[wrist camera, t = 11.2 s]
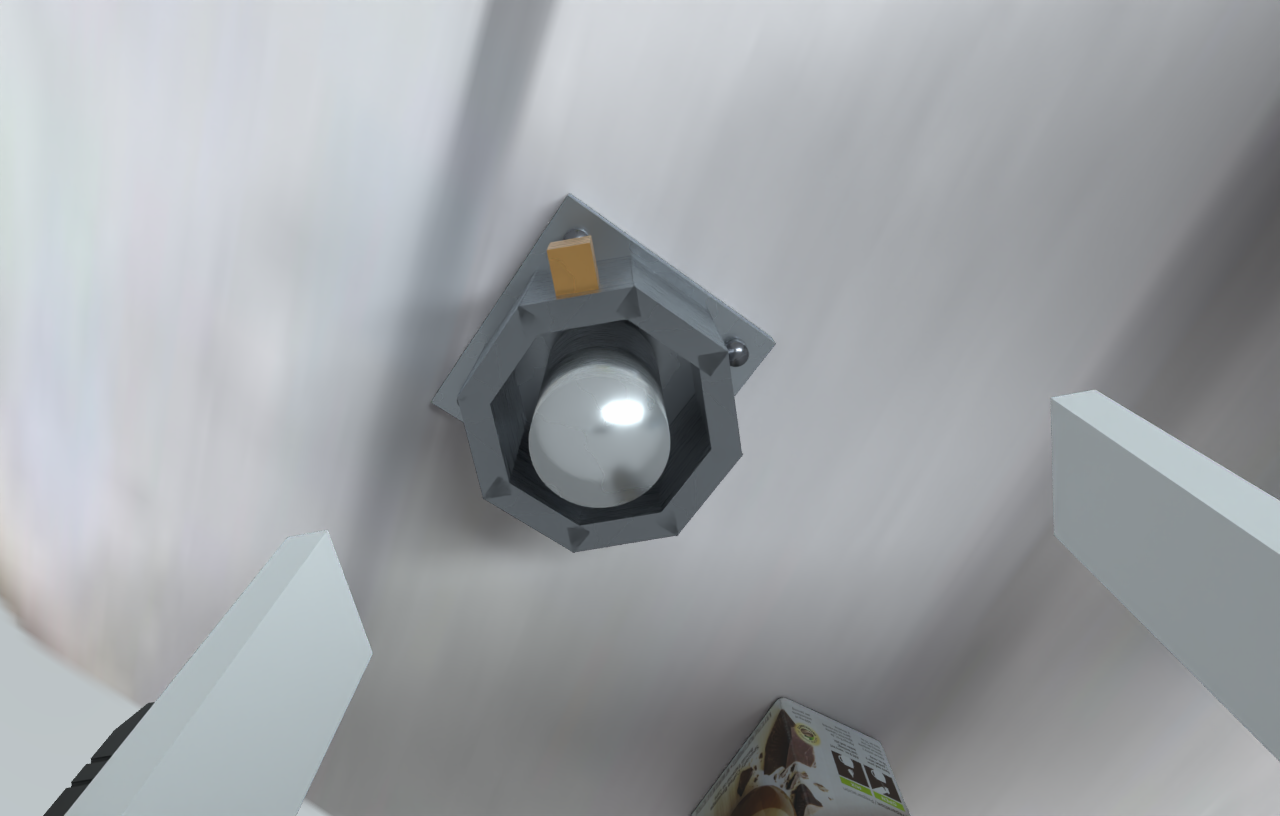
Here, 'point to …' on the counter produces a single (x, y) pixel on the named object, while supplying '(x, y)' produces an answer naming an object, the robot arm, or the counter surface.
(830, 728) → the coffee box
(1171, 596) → the robot arm
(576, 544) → the collar
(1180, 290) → the counter surface
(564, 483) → the bolted post base
